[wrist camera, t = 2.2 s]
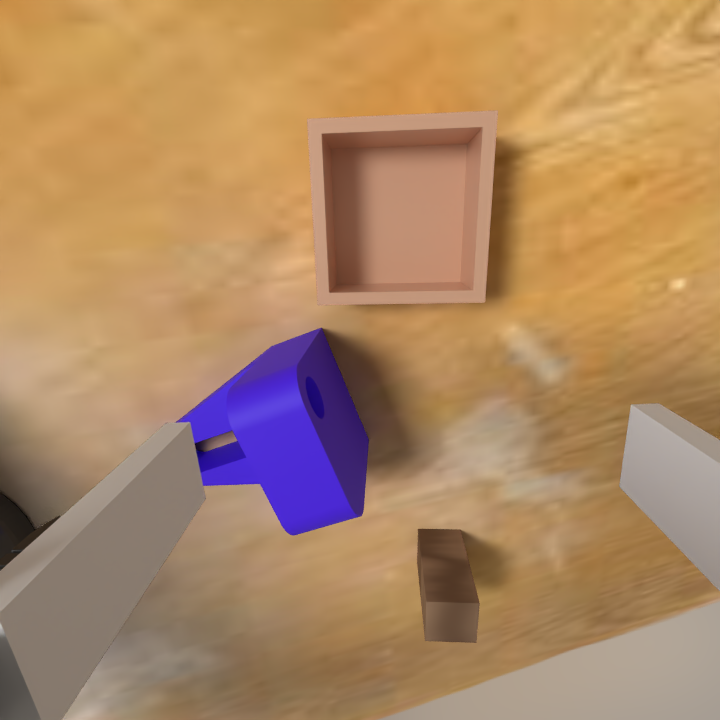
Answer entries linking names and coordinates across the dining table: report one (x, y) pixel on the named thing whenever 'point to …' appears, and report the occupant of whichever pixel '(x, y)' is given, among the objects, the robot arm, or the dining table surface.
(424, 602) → the walnut post
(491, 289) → the dining table surface
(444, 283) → the planter
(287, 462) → the bracket
